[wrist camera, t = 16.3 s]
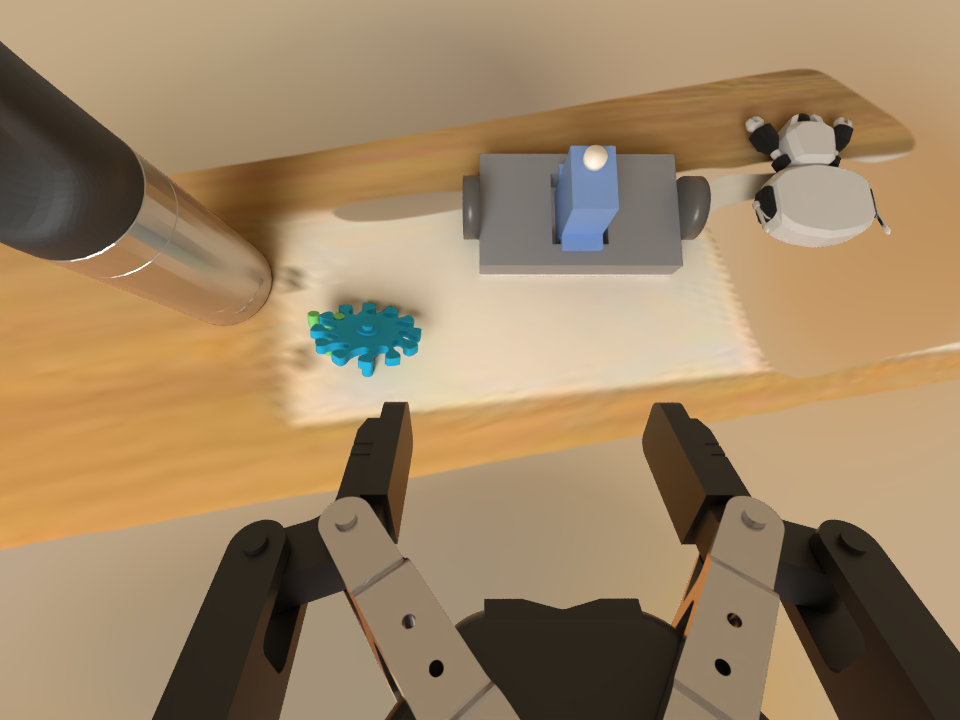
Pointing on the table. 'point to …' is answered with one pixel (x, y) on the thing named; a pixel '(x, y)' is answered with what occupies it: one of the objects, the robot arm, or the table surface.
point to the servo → (586, 197)
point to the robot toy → (811, 183)
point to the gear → (363, 335)
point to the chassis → (626, 241)
